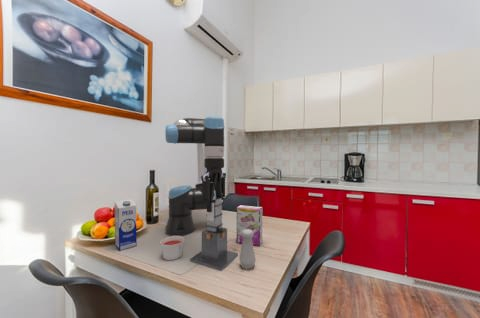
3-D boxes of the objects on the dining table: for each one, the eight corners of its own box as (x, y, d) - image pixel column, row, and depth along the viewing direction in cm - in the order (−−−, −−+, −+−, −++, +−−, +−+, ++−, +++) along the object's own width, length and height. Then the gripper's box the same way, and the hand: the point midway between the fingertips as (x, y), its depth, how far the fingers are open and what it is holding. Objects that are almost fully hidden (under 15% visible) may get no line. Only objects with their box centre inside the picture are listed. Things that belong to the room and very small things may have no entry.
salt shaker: (238, 262, 76) (238, 227, 75) (254, 261, 76) (254, 227, 76) (240, 271, 70) (240, 233, 70) (256, 270, 70) (256, 233, 70)
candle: (165, 250, 85) (165, 235, 85) (187, 250, 85) (187, 235, 85) (156, 261, 76) (156, 245, 76) (180, 262, 76) (180, 245, 76)
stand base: (190, 261, 76) (189, 229, 76) (209, 248, 87) (209, 220, 87) (221, 271, 70) (221, 235, 70) (237, 255, 80) (237, 225, 80)
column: (206, 256, 77) (206, 199, 77) (213, 251, 81) (213, 196, 81) (216, 259, 75) (216, 200, 75) (222, 253, 79) (222, 197, 79)
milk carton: (132, 241, 94) (131, 198, 94) (137, 245, 89) (136, 200, 89) (114, 246, 89) (114, 200, 89) (118, 251, 84) (118, 203, 84)
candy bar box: (236, 243, 92) (235, 207, 92) (239, 239, 97) (239, 204, 96) (260, 246, 88) (260, 209, 88) (262, 242, 93) (262, 206, 93)
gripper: (208, 158, 68) (208, 226, 69) (234, 157, 84) (234, 213, 84) (191, 157, 72) (191, 223, 72) (218, 157, 87) (218, 211, 88)
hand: (214, 218), depth 78 cm, fingers closed on column, 4 cm apart
